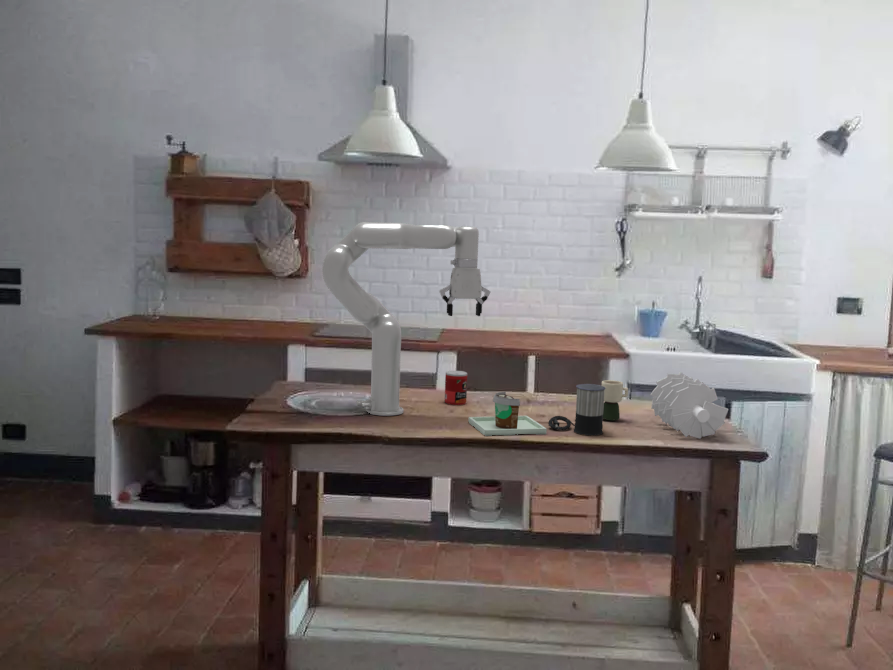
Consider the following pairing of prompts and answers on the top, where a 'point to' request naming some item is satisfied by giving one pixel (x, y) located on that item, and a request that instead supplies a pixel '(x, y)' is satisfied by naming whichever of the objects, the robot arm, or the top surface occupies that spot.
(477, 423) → the tray
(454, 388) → the canned food
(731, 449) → the top surface
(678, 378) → the spiral staircase
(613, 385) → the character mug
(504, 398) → the food container
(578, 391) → the milk frother
